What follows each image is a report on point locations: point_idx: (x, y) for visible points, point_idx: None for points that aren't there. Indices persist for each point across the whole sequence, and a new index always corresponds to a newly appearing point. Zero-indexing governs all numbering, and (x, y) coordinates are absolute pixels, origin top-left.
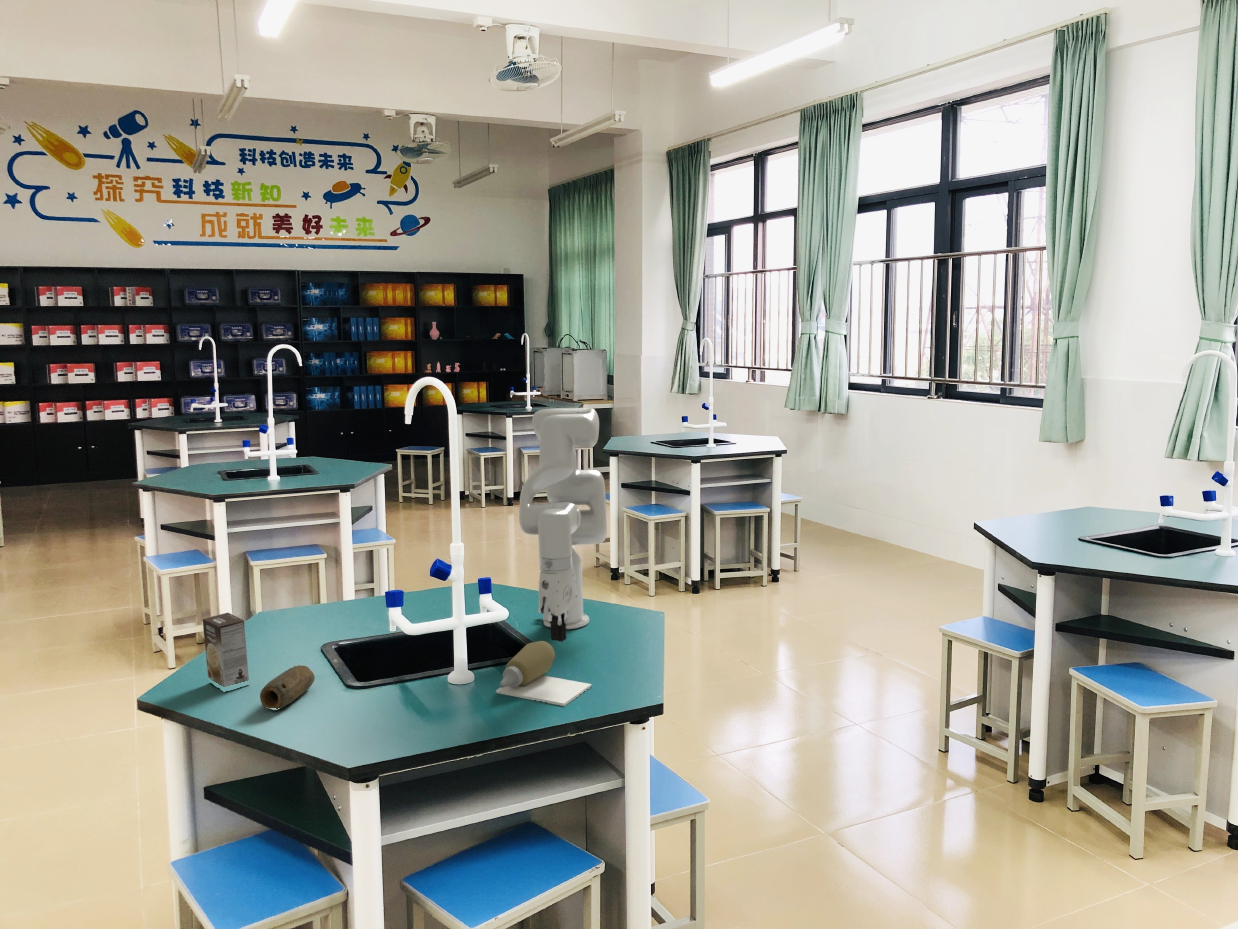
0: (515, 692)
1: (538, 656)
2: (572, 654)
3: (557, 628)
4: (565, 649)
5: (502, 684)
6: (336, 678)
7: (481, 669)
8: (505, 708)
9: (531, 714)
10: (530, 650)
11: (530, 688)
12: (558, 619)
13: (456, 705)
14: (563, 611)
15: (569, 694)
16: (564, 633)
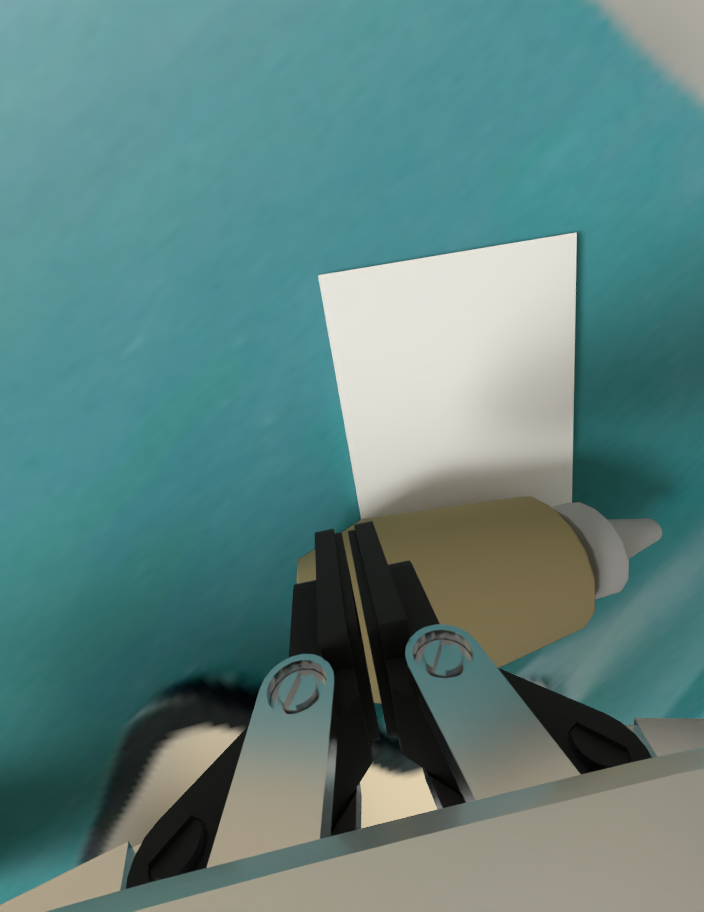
0: (560, 496)
1: (471, 563)
2: (79, 614)
3: (438, 622)
4: (60, 672)
5: (656, 527)
6: None
7: None
8: (667, 435)
9: (685, 307)
10: (494, 624)
11: (501, 478)
12: (520, 704)
13: (696, 581)
14: (693, 825)
15: (478, 285)
16: (340, 561)
